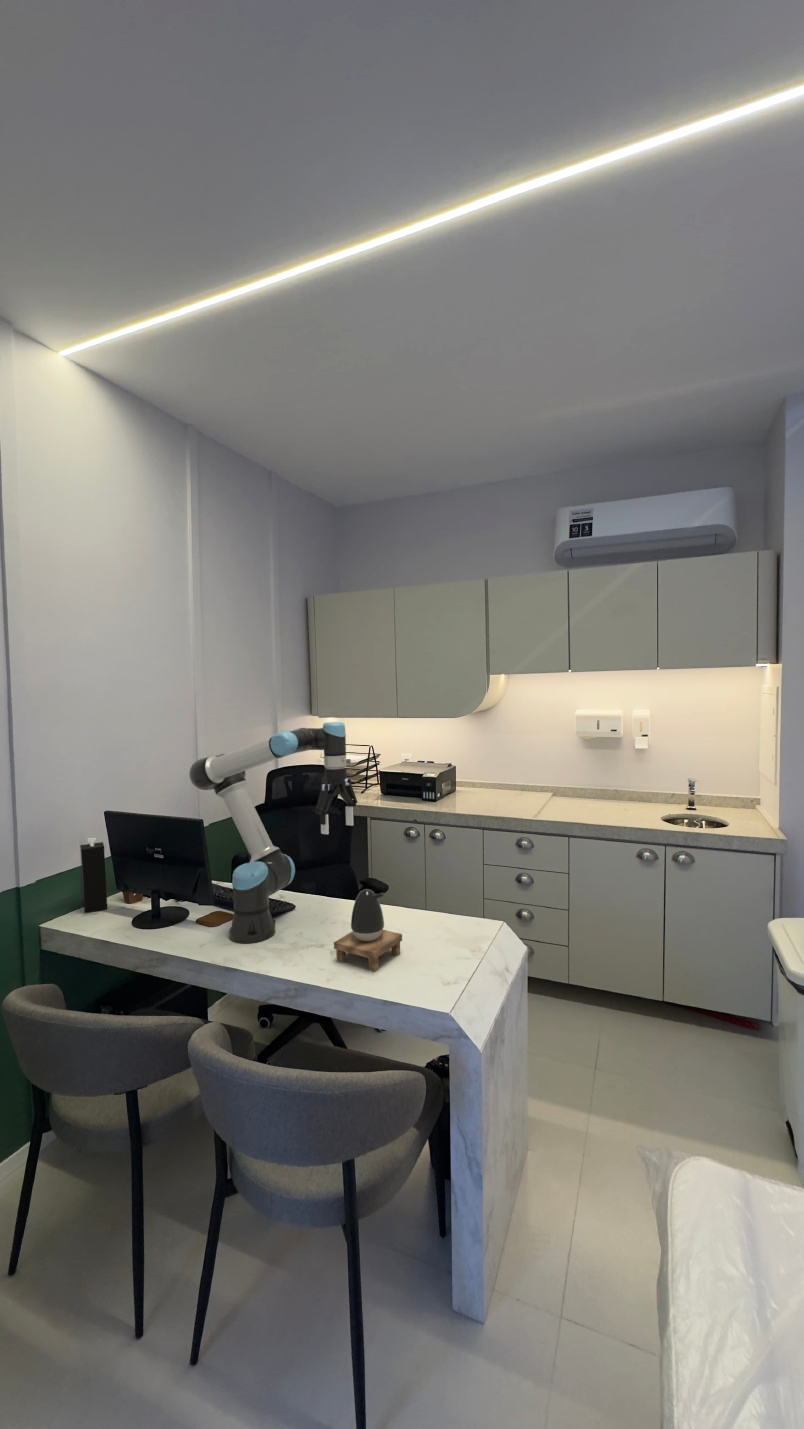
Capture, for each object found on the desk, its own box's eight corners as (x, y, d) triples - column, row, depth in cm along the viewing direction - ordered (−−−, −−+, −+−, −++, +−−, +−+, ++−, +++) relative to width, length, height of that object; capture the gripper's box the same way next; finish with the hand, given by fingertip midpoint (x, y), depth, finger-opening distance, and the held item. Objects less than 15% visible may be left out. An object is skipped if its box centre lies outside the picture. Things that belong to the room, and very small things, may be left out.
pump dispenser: (380, 946, 180) (379, 896, 179) (347, 944, 182) (345, 894, 182) (388, 932, 190) (387, 884, 189) (356, 930, 192) (355, 883, 192)
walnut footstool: (334, 961, 184) (333, 942, 184) (363, 943, 197) (362, 924, 197) (375, 973, 176) (374, 952, 176) (402, 952, 189) (402, 934, 189)
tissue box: (107, 909, 234) (103, 837, 232) (84, 913, 230) (80, 841, 228) (106, 903, 241) (102, 833, 239) (83, 907, 237) (79, 836, 235)
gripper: (320, 773, 193) (322, 839, 194) (366, 763, 214) (367, 822, 215) (302, 772, 197) (304, 836, 198) (349, 762, 218) (350, 820, 220)
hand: (337, 829), depth 207 cm, fingers open, 13 cm apart
